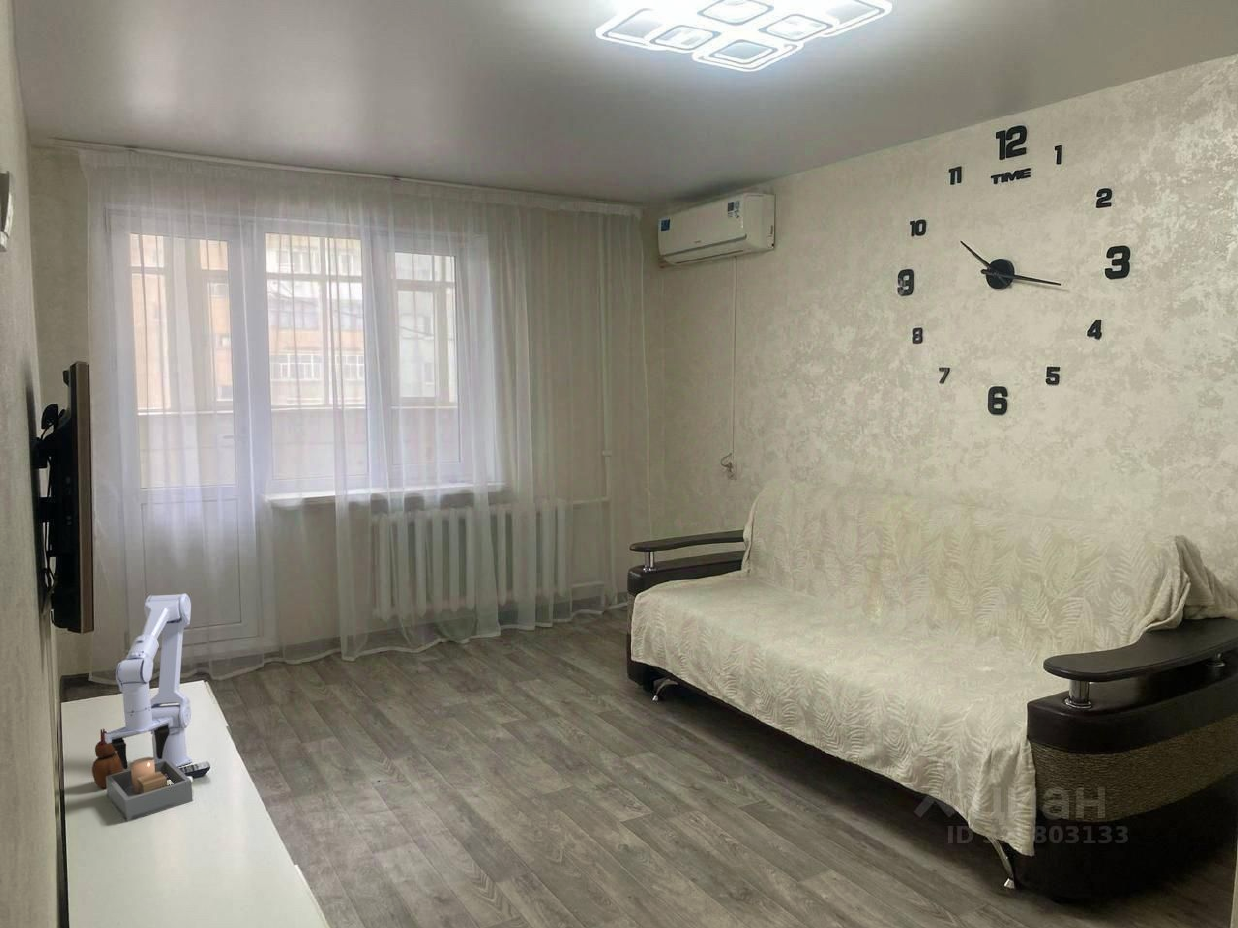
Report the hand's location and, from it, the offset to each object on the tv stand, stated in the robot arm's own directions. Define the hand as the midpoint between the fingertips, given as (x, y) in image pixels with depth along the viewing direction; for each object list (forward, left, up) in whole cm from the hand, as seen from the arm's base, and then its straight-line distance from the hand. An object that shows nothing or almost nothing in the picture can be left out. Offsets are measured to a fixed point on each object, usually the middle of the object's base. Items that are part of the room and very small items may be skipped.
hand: (142, 762), depth 215 cm
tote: (+4, 0, -8) cm, 9 cm away
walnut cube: (+7, 0, -7) cm, 10 cm away
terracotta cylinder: (0, 0, -7) cm, 7 cm away
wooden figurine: (-12, -5, -8) cm, 15 cm away
